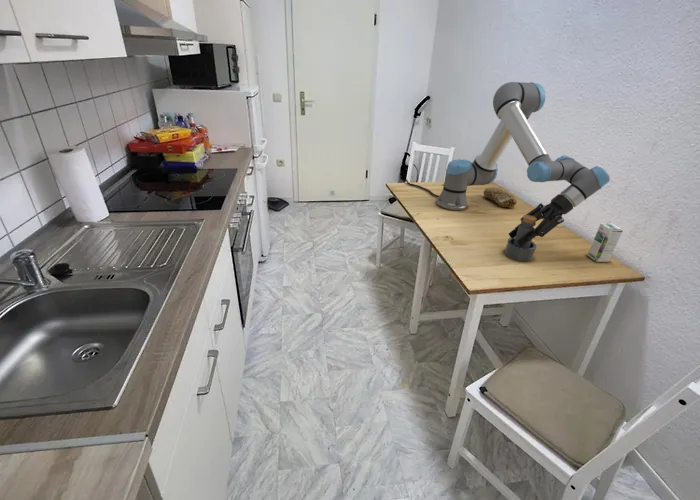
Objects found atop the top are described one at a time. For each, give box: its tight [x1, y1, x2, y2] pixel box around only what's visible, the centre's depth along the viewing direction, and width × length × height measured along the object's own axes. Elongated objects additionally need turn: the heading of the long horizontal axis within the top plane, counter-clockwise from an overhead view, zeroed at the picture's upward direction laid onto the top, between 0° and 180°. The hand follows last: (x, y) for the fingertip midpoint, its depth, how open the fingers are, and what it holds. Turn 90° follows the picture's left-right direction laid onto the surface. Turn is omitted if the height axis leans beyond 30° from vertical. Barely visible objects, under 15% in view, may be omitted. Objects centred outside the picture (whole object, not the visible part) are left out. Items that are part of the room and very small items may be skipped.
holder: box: [504, 236, 537, 263], centre depth 144 cm, size 10×10×6 cm
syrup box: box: [586, 222, 624, 263], centre depth 142 cm, size 6×6×14 cm
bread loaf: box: [483, 187, 517, 209], centre depth 198 cm, size 13×8×20 cm
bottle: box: [514, 214, 537, 248], centre depth 141 cm, size 6×6×15 cm
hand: (514, 239), depth 141 cm, fingers closed on bottle, 6 cm apart
